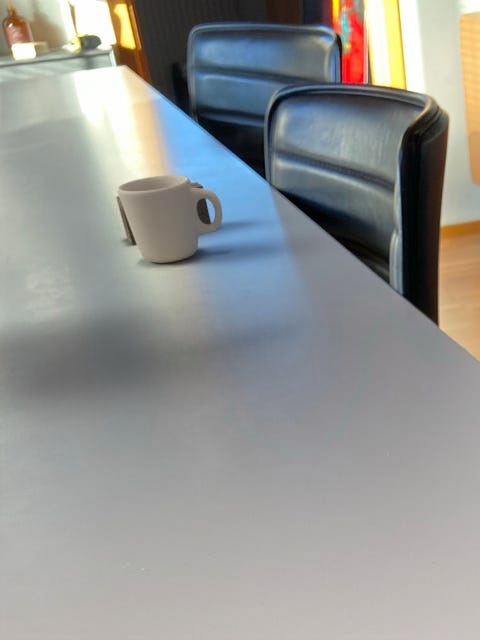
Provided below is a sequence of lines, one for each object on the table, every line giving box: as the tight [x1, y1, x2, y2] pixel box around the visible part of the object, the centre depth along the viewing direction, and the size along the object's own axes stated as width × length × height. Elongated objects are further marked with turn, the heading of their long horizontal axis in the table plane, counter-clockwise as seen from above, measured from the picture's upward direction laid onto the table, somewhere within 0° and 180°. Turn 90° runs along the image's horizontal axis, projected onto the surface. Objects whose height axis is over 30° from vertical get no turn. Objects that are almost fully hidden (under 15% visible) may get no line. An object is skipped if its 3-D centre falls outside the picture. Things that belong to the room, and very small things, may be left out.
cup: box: [116, 174, 223, 264], centre depth 115 cm, size 11×8×8 cm
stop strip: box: [115, 181, 212, 245], centre depth 125 cm, size 10×3×5 cm, turn 117°
